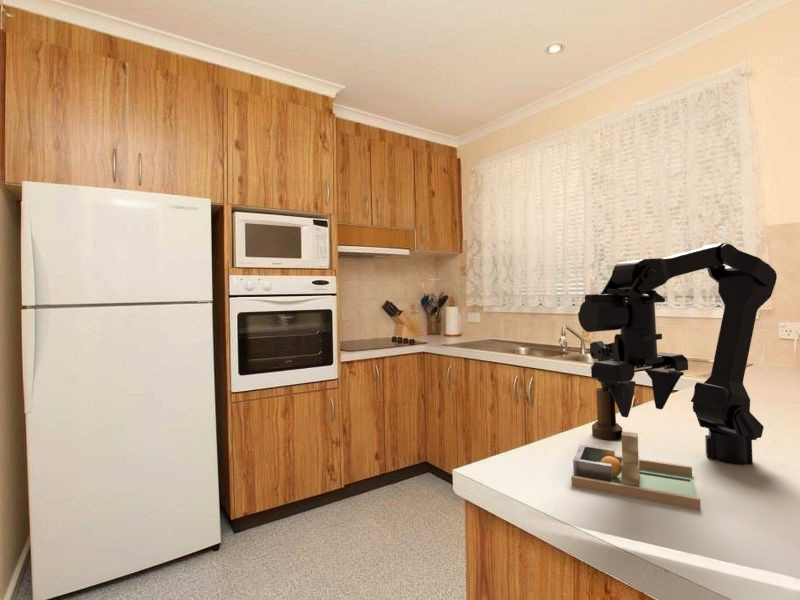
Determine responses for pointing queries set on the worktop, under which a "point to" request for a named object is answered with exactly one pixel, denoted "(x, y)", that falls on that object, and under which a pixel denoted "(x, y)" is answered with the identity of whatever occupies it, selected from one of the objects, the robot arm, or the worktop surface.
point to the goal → (593, 463)
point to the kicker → (630, 459)
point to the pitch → (651, 484)
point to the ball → (613, 465)
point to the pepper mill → (606, 416)
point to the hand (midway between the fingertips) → (642, 412)
